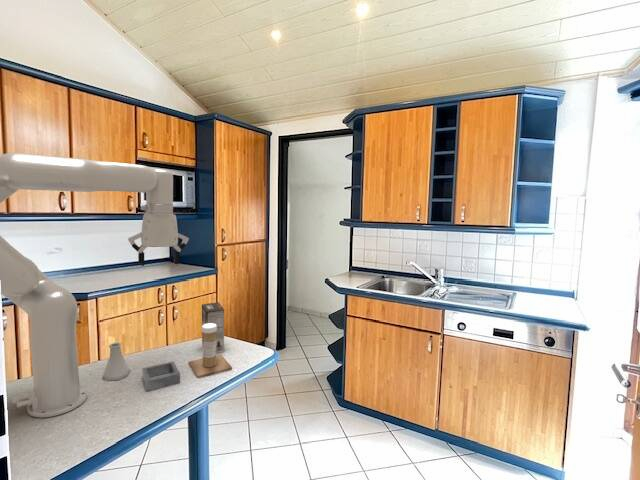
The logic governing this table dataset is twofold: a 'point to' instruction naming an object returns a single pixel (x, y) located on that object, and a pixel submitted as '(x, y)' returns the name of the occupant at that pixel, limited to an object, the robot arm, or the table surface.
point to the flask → (116, 364)
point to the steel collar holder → (163, 380)
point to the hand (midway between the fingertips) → (159, 264)
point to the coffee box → (215, 322)
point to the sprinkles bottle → (209, 344)
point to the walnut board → (206, 371)
